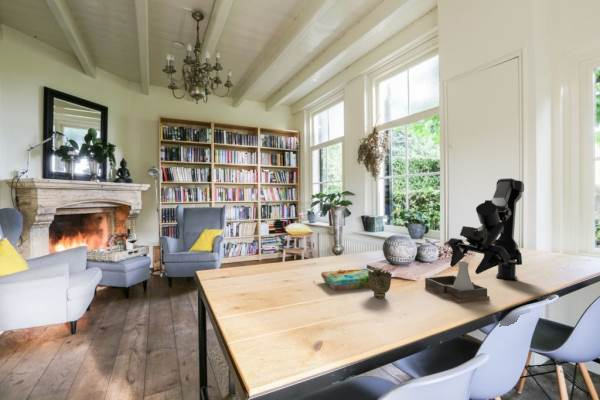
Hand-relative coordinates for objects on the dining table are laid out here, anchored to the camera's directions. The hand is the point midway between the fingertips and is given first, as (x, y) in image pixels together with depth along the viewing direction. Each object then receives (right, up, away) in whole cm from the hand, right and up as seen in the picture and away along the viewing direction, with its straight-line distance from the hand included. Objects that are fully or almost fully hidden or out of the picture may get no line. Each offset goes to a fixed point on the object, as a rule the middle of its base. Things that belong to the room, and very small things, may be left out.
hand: (463, 269), depth 93 cm
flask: (0, -8, 0) cm, 8 cm away
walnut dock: (-1, -9, +3) cm, 9 cm away
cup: (-27, -9, 0) cm, 29 cm away
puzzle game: (-34, -9, +13) cm, 37 cm away
